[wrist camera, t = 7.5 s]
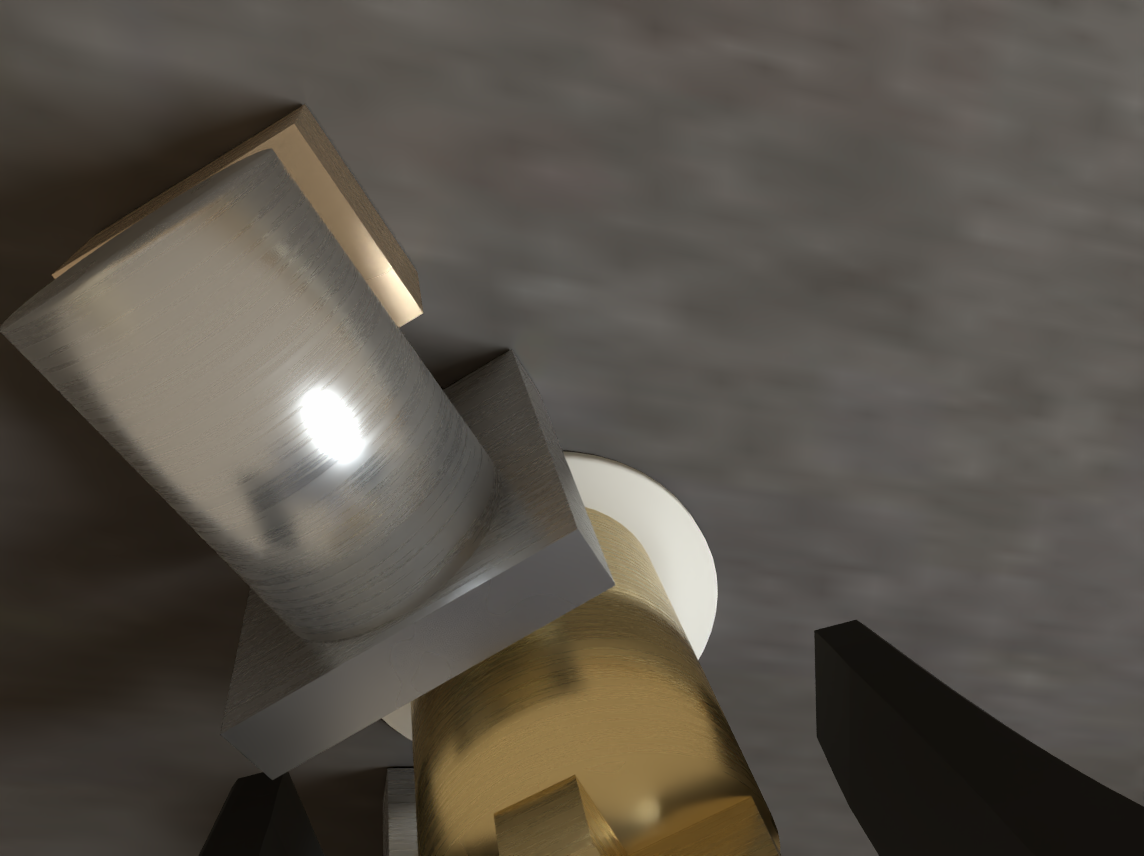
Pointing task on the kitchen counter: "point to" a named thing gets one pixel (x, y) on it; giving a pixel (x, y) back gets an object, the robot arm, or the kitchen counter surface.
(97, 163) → the kitchen counter surface
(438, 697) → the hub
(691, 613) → the seat
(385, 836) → the shaft
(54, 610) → the kitchen counter surface
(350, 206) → the shaft
